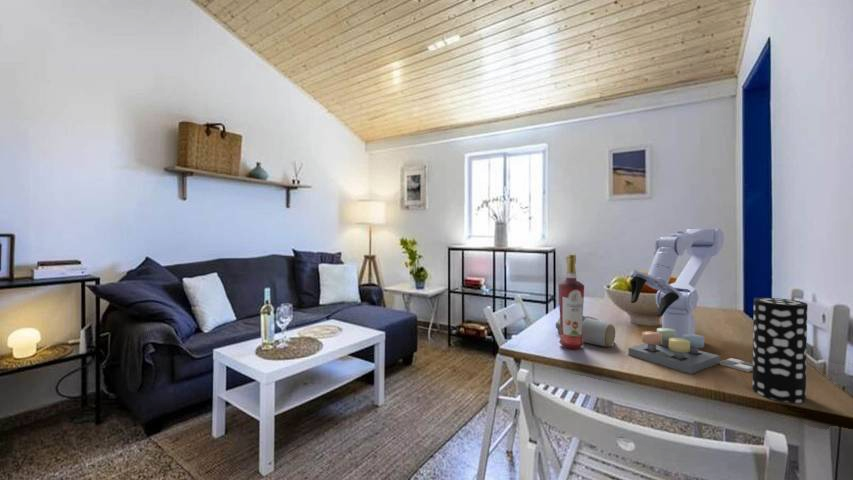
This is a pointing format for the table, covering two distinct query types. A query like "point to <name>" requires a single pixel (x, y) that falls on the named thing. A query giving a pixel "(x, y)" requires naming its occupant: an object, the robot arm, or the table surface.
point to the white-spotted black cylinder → (780, 349)
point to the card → (738, 364)
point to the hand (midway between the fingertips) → (646, 308)
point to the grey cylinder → (598, 332)
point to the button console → (668, 358)
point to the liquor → (571, 307)
